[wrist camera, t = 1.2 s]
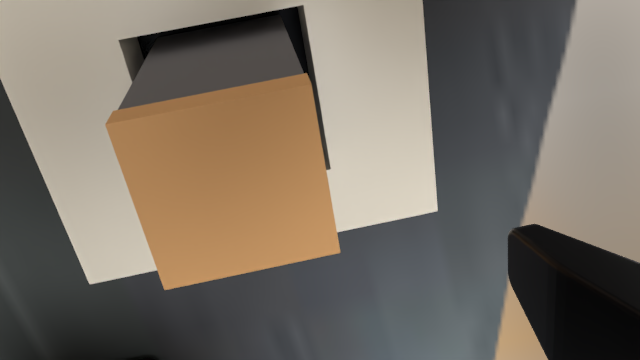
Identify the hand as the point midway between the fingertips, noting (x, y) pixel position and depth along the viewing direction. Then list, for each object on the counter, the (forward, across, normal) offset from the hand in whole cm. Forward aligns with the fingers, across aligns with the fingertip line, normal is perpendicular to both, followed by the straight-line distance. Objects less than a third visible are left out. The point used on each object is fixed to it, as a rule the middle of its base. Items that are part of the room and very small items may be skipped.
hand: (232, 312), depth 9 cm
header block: (+12, 0, 0) cm, 12 cm away
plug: (+12, 0, 0) cm, 12 cm away
